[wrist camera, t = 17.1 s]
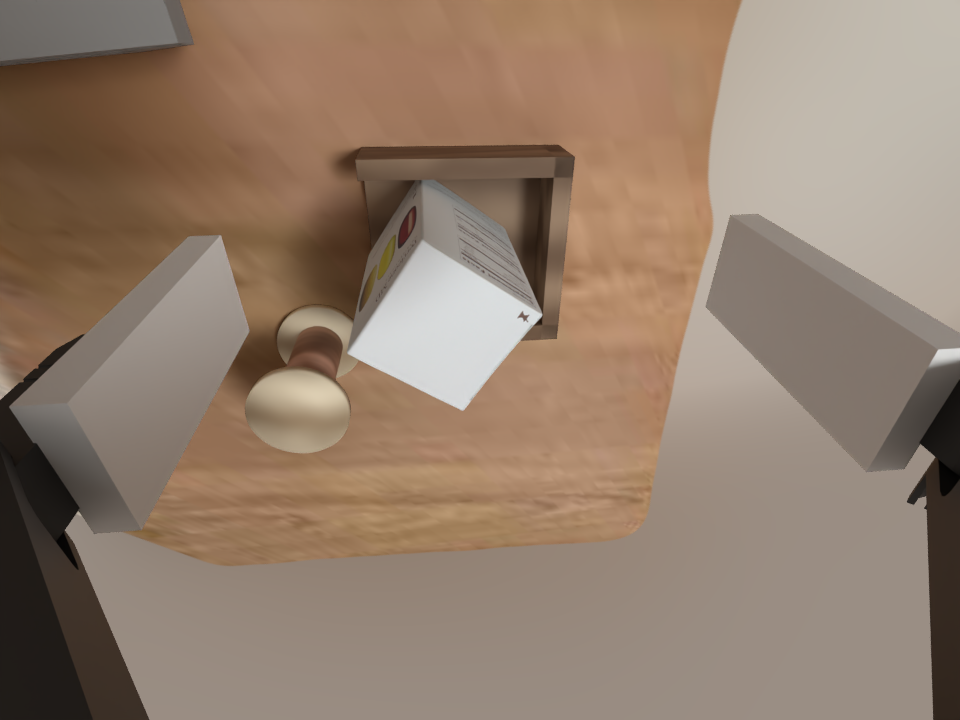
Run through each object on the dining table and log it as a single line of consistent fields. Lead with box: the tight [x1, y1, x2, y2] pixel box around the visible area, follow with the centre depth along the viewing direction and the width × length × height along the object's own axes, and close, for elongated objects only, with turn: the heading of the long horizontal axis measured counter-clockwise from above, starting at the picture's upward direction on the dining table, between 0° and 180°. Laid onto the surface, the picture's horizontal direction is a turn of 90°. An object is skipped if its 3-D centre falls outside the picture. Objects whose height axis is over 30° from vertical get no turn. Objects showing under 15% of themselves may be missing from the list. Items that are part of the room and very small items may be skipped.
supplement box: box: [347, 180, 542, 410], centre depth 39 cm, size 10×9×17 cm
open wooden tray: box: [355, 145, 575, 341], centre depth 45 cm, size 16×16×5 cm
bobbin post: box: [245, 305, 359, 453], centre depth 46 cm, size 8×8×12 cm
